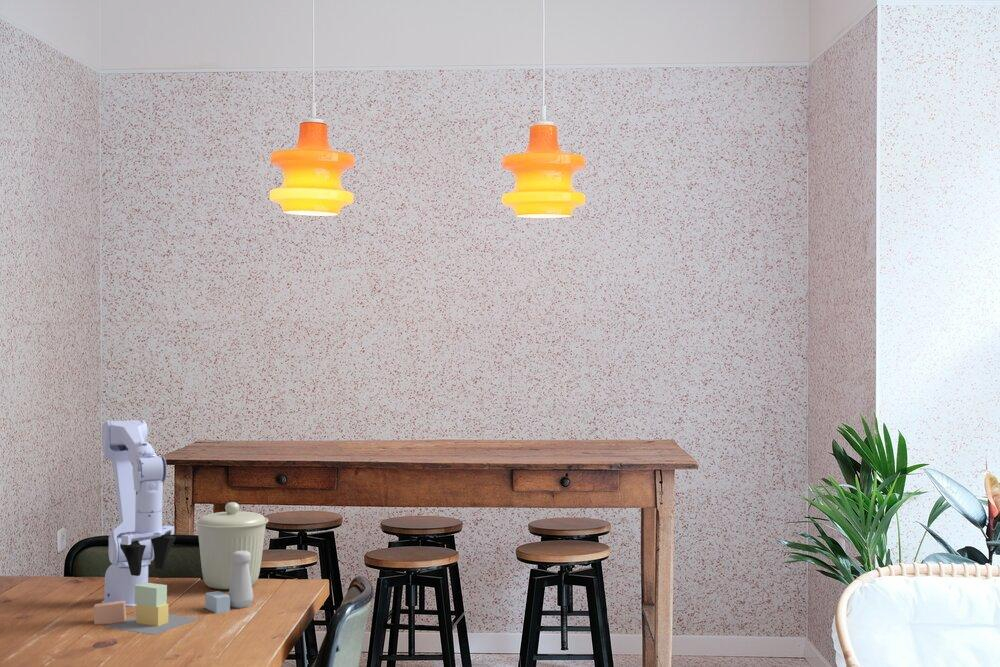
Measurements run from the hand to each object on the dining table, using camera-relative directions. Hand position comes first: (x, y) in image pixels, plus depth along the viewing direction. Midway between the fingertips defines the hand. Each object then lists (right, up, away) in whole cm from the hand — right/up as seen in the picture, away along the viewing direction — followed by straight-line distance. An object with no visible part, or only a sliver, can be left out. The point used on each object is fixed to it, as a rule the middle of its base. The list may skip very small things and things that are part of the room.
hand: (147, 571), depth 223 cm
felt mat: (+4, -10, -7) cm, 13 cm away
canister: (+11, -11, +30) cm, 34 cm away
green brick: (+3, -5, -7) cm, 9 cm away
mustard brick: (+4, -9, -7) cm, 12 cm away
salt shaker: (+19, -11, +8) cm, 23 cm away
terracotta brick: (-6, -9, -6) cm, 13 cm away
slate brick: (+14, -10, +5) cm, 18 cm away
